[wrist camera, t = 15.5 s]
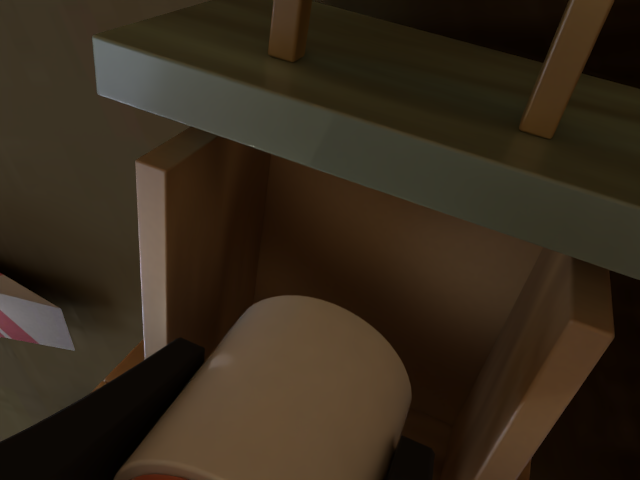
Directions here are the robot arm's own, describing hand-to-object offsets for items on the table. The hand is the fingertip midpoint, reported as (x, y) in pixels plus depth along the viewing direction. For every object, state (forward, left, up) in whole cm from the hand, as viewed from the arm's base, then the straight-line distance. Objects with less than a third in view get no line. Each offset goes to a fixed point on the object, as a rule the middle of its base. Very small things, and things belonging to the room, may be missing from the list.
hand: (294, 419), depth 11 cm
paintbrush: (+24, +13, -9) cm, 29 cm away
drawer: (0, -2, -8) cm, 8 cm away
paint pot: (0, 0, -1) cm, 1 cm away
